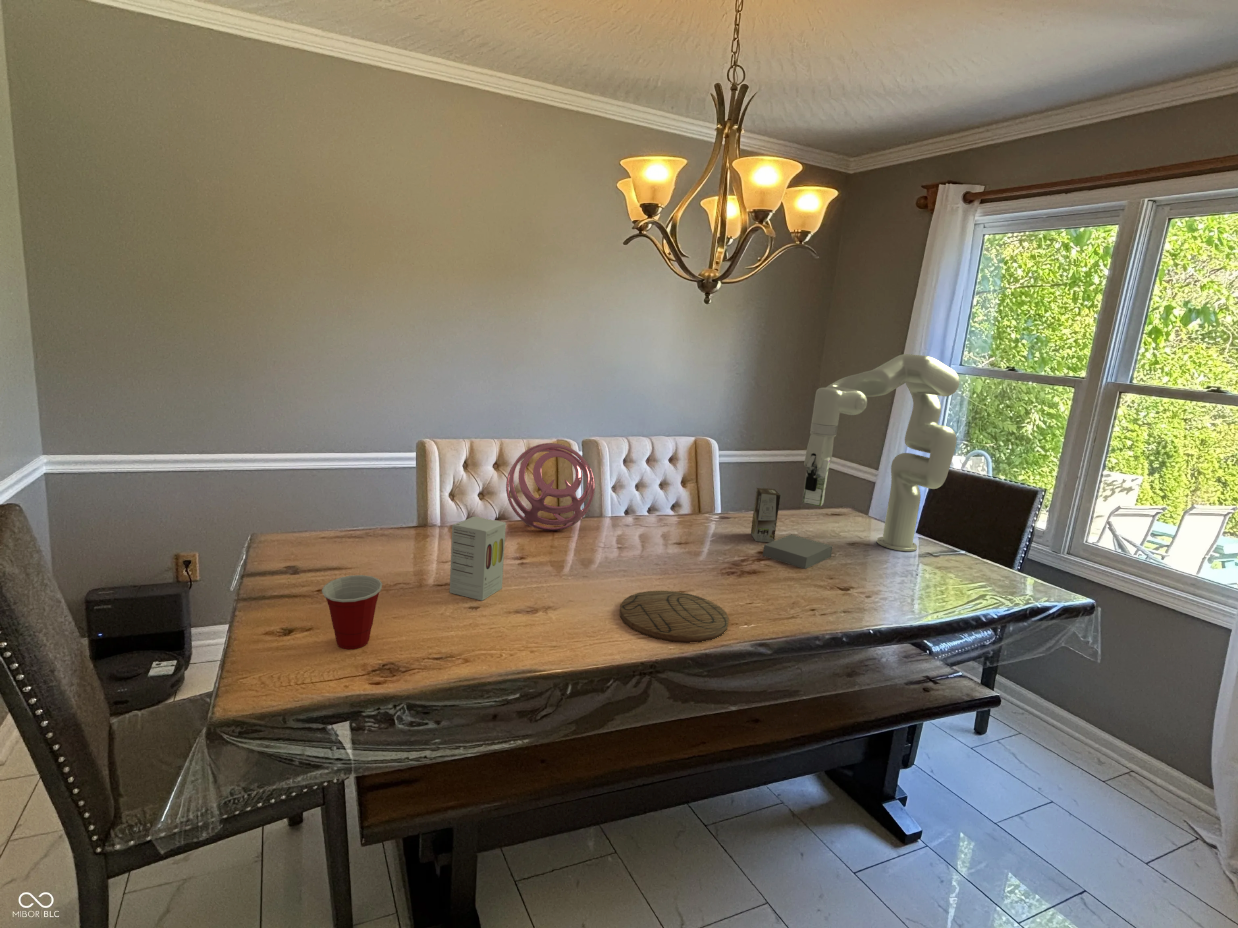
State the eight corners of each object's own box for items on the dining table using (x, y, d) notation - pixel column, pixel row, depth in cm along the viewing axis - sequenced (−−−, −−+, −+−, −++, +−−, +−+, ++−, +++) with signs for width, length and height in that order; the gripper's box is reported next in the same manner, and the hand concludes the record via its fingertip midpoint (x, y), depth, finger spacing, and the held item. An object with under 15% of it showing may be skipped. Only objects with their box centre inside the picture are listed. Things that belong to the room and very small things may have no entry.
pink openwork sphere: (514, 451, 232) (526, 417, 208) (591, 475, 237) (612, 445, 213) (491, 527, 220) (501, 500, 196) (573, 551, 225) (593, 527, 201)
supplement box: (482, 601, 157) (485, 531, 153) (448, 593, 160) (450, 524, 156) (503, 588, 166) (506, 521, 162) (470, 580, 169) (473, 515, 165)
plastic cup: (308, 647, 129) (308, 588, 127) (349, 626, 139) (350, 570, 137) (354, 661, 126) (355, 600, 123) (393, 638, 136) (394, 581, 133)
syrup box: (823, 503, 207) (830, 456, 204) (821, 507, 202) (828, 459, 199) (804, 499, 209) (811, 453, 206) (801, 503, 204) (808, 456, 201)
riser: (789, 546, 221) (791, 534, 220) (830, 558, 212) (832, 545, 211) (762, 557, 207) (764, 544, 207) (805, 570, 199) (806, 557, 198)
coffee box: (774, 543, 221) (781, 495, 218) (754, 541, 221) (761, 493, 218) (769, 534, 230) (775, 488, 227) (750, 533, 230) (756, 486, 227)
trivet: (648, 650, 141) (649, 641, 140) (602, 602, 163) (603, 594, 163) (749, 637, 151) (750, 629, 151) (693, 593, 173) (694, 586, 173)
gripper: (822, 426, 210) (813, 482, 214) (800, 429, 197) (791, 489, 200) (846, 430, 206) (837, 487, 209) (825, 434, 192) (815, 495, 196)
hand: (814, 488), depth 205 cm, fingers closed on syrup box, 6 cm apart
